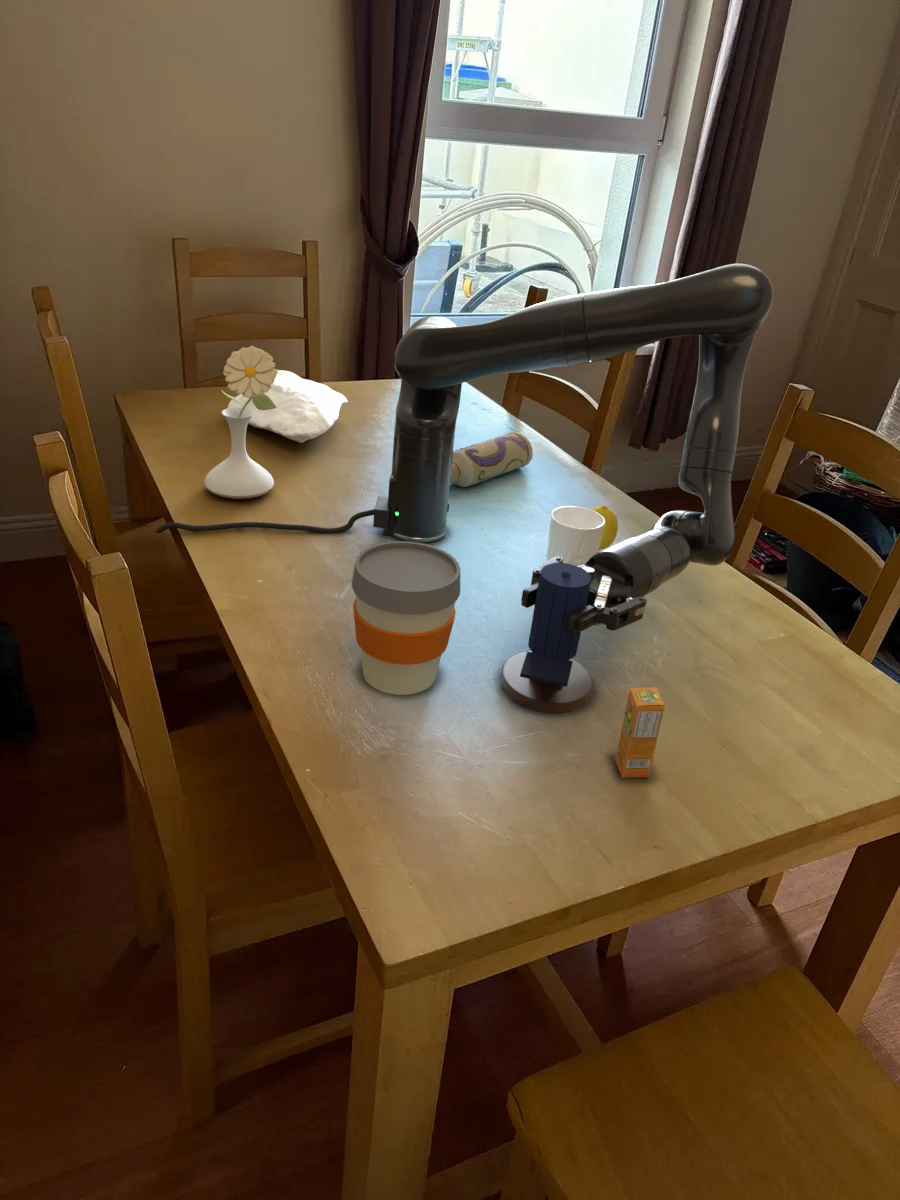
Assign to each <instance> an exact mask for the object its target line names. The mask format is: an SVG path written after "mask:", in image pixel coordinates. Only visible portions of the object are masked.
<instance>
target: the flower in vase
mask: <svg viewBox="0 0 900 1200" xmlns="http://www.w3.org/2000/svg"><path fill="white" fill-rule="evenodd" d="M273 361H274V357H273V356H272V355H271V354H270V353H269V352H266V351H265V350H263V349H262V348H258V347H255V346H254V345H250V346H249V347H241V348H239V350H237V351H235V350H233V351H232V352H231V353H230V356H229V358H227V359H226V363H225V365H224V366H223V371H222V374H223V375H224V377H225V379H224V380H225V382H226V383H228V384H227V388H228V389H229V390H231V391H232V392H235V393H236V394H237V395H240V394H242V395H243V396H244V397H246V398H249V399H248V401H247V402H246V404H245V405H244V406H243V408H239V407H234V408H228V407H227V408H225V409H223V410H221V415H222V416H223V417H224V419H225V421H226V422H227V424H228V427H229V433H230V441H231V449H230V453H229V456H228V457H227V458H225V459H224V460H223V461H221V462H220V463H218V464H217V465H216V466H214V467H213V468H212V469H211V470H210V471H209V472H208V473H207V474H206V476H205V478H204V482H203V484H204V486H205V487H206V489H207V490H208V491H209V492H211V493H212V494H213V495H216V496H218V497H223V498H227V499H235V500H244V499H245V500H246V499H253V498H257V497H261V496H263V495H266V494H268V493H269V492H270V491H271V490H272V489H273V488H274V485H275V480H274V478H273V475H272V474H271V473H270V472H269V471H268V470H267V469H266V468H265V467H263V466H262V465H260V464H259V463H258V462H256V461H254V460H253V459H252V458H251V457H250V456H249V454H248V453H247V449H246V435H247V428H248V425H249V424H248V422H249V420H250V418H251V417H252V416H253V414H254V413H253V411H251V410H249V409H246V408H245V407H246V406H247V405H248V403H249V402H250V400H251V399H252V401H253V403H254V405H255V407H256V408H257V409H258V410H269V409H274V408H276V406H275V404H274V403H273V402H272V400H271V399H270V398H269V397H268V396H267V395H265V394H264V392H268V391H269V389H270V388H271V384H272V383H274V381H275V380H274V378H276V374H277V373H278V371H277V370H278V369H276V363H275V362H273ZM221 393H223V395H225V396H226V397H227V398H229V399H231V400H234V401H236V402H238V403H240V404H242V403H241V402H240V401H239V400H237V399H236V398H235V397H234V396H232V395H229V394H227V393H225V391H223V390H221ZM242 405H243V404H242Z"/></svg>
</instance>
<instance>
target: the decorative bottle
mask: <svg viewBox="0 0 900 1200" xmlns="http://www.w3.org/2000/svg"><path fill="white" fill-rule="evenodd" d="M533 450H534V449H533V447H532V443H531V442H530V440H529V439H528V438H527V437H526V436H525V435H524V434H522V433H520V432H516V431H510V432H507V433H505V434H503V435H499V436H495V437H493V438H489V439H486V440H482V441H481V442H477V443H474V444H470V445H468V446H465V447H460V448H458V449H455V450H453V457H452V467H451V477H450V484H455V485H456V486H458V487H461V488H465V487H470V486H474V485H476V484H478V483H482V482H484V481H487V480H489V479H491V478H495V477H497V476H499V475H503V474H506V473H509V472H512V471H514V470H516V469H520V468H524V467H526V466H528V465H529V464H530V463H531V461H532V460H533V453H534V452H533Z"/></svg>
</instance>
